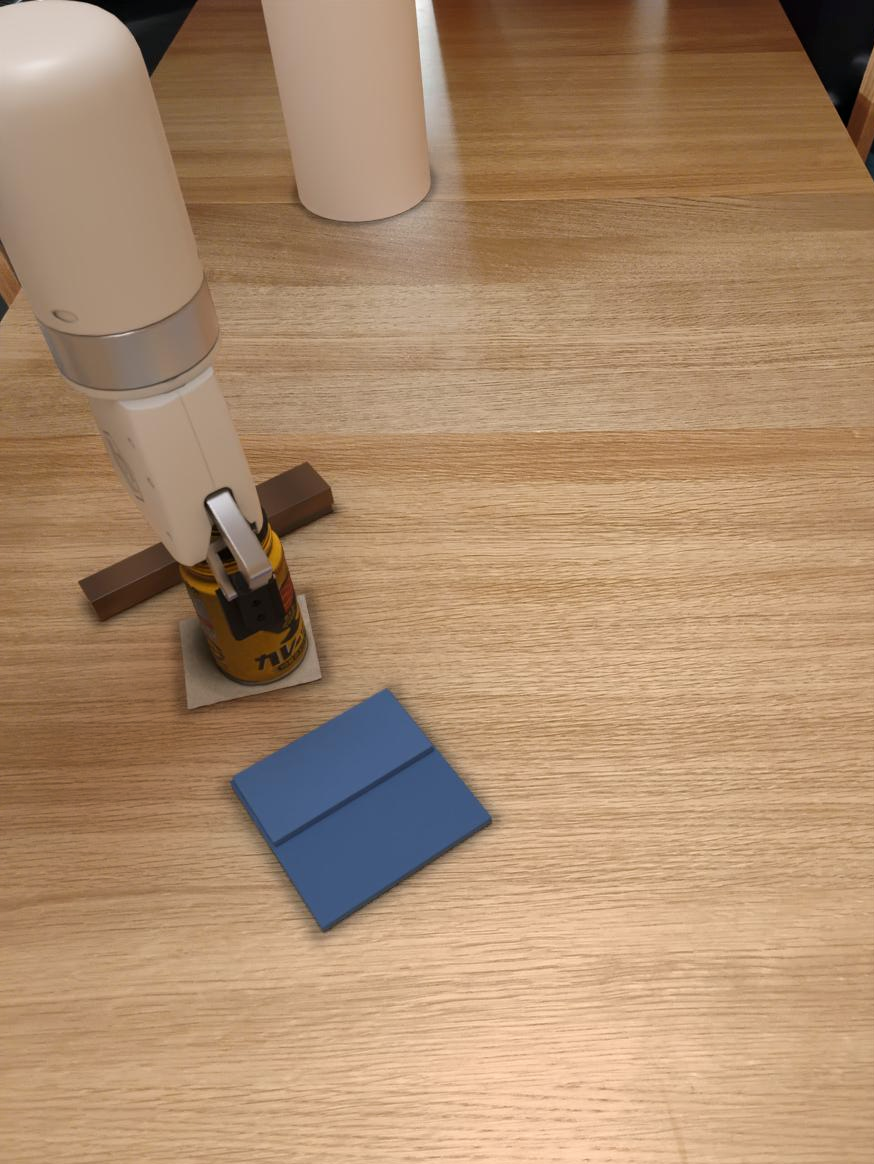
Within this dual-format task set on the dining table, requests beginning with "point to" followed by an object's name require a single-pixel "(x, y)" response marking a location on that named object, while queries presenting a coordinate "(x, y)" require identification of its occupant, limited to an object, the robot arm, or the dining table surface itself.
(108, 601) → the brown bar
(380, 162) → the canister
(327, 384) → the dining table surface
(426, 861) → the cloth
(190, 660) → the condiment
